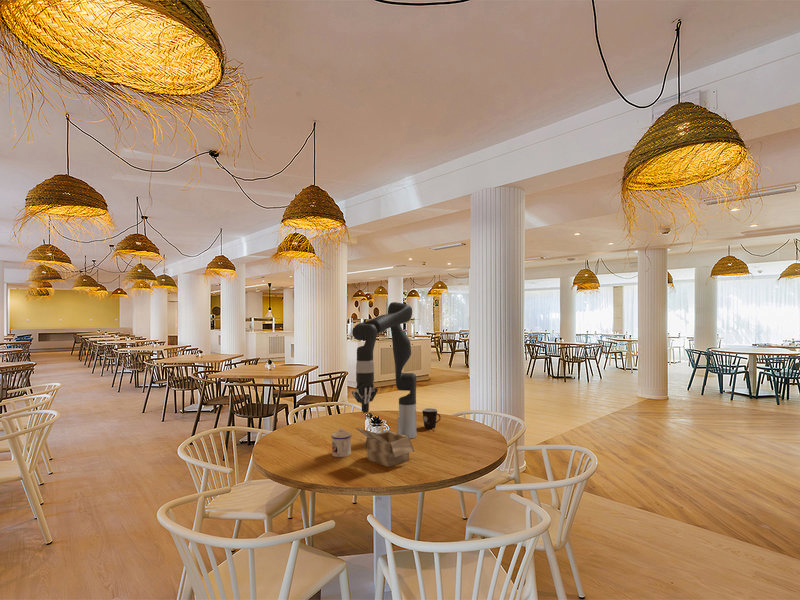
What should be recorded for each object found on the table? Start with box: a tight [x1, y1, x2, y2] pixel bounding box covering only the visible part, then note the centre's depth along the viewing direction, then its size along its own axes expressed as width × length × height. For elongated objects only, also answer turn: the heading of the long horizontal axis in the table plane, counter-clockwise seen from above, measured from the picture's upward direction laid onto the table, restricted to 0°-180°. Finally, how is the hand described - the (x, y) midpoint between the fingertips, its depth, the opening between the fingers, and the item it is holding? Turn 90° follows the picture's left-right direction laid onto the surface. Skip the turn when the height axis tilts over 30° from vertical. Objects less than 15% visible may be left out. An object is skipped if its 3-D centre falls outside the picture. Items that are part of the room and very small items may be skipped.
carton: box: [363, 430, 415, 468], centre depth 186 cm, size 20×16×10 cm
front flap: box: [355, 427, 387, 443], centre depth 178 cm, size 13×1×8 cm
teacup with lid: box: [331, 428, 352, 458], centre depth 192 cm, size 12×9×12 cm
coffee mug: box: [421, 407, 441, 430], centre depth 238 cm, size 12×9×10 cm
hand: (365, 412), depth 176 cm, fingers closed
